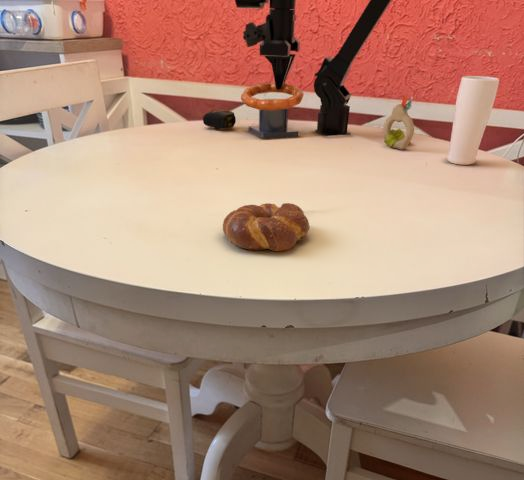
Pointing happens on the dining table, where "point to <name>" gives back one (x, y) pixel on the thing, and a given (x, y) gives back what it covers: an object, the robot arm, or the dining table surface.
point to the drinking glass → (471, 117)
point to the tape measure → (219, 119)
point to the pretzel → (266, 226)
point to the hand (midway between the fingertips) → (279, 88)
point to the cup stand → (273, 124)
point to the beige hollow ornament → (397, 137)
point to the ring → (271, 104)
